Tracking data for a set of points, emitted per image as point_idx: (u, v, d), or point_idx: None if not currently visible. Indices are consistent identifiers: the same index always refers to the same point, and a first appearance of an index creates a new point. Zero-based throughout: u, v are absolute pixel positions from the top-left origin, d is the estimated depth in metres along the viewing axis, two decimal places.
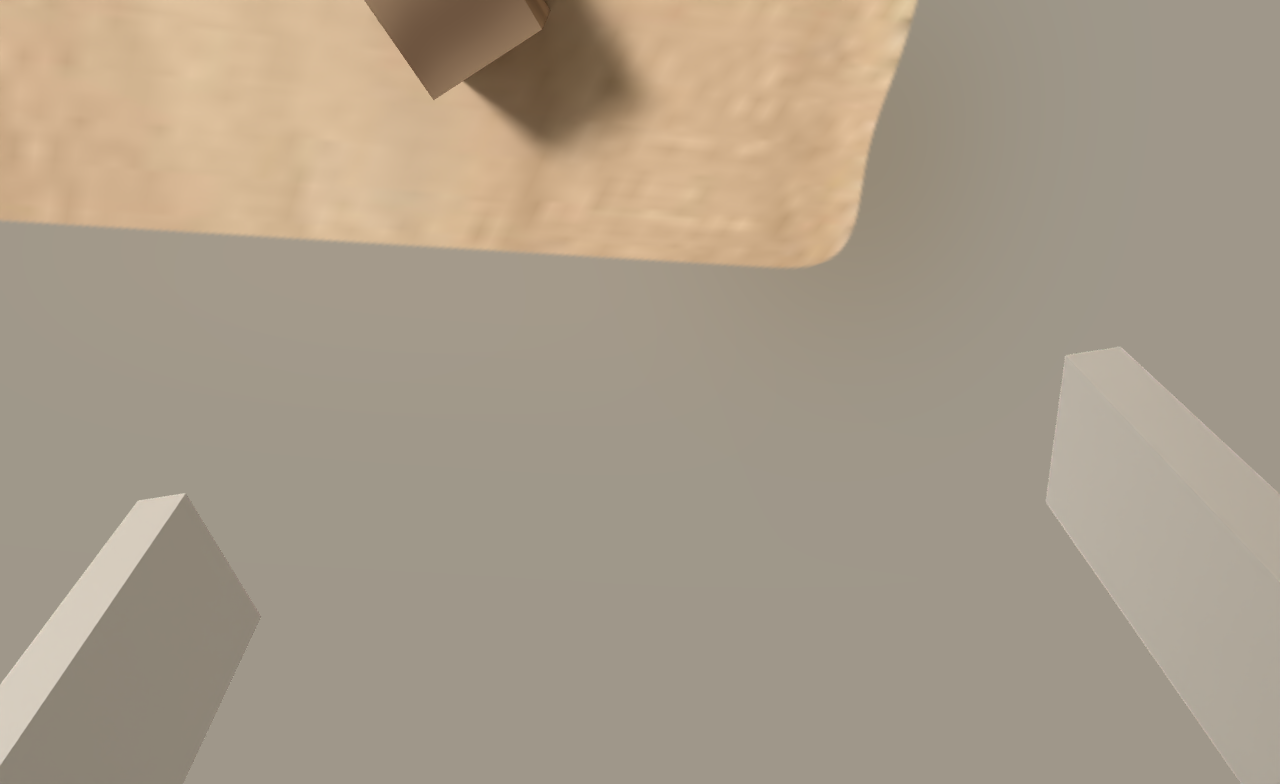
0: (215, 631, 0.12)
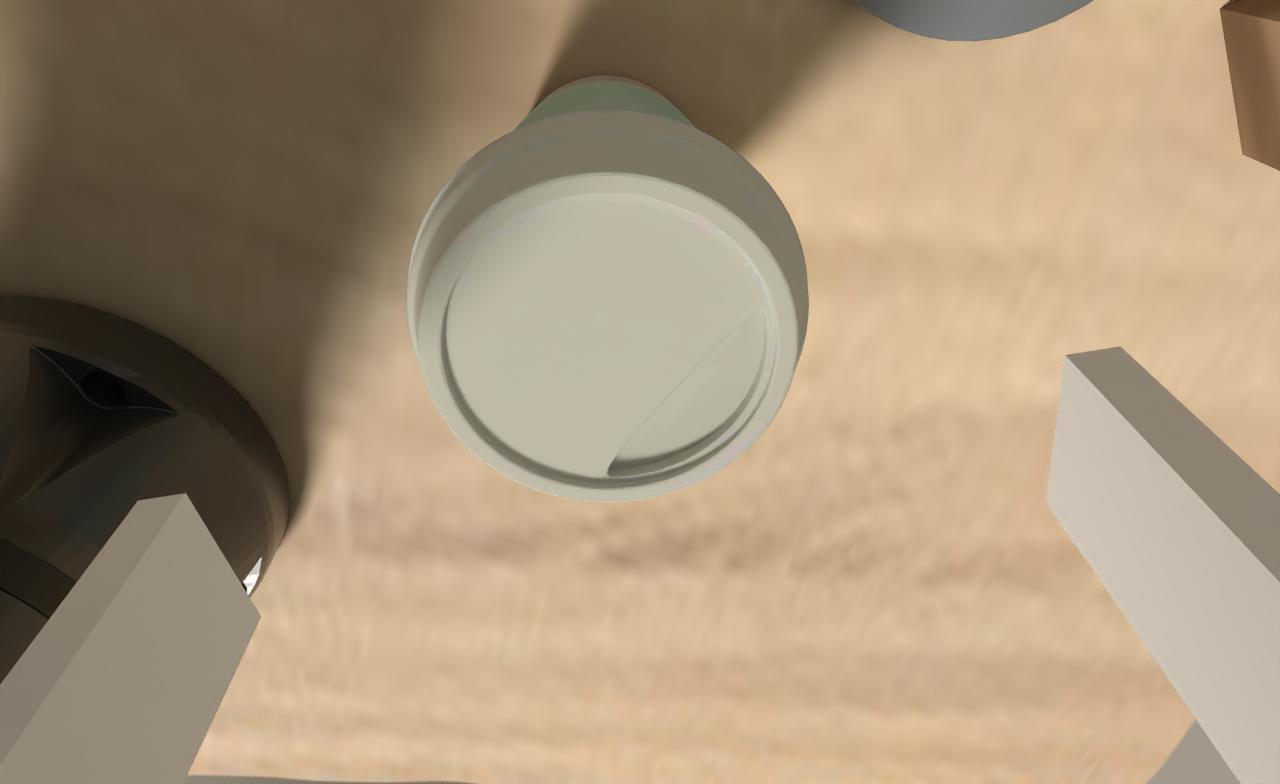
0: (215, 631, 0.12)
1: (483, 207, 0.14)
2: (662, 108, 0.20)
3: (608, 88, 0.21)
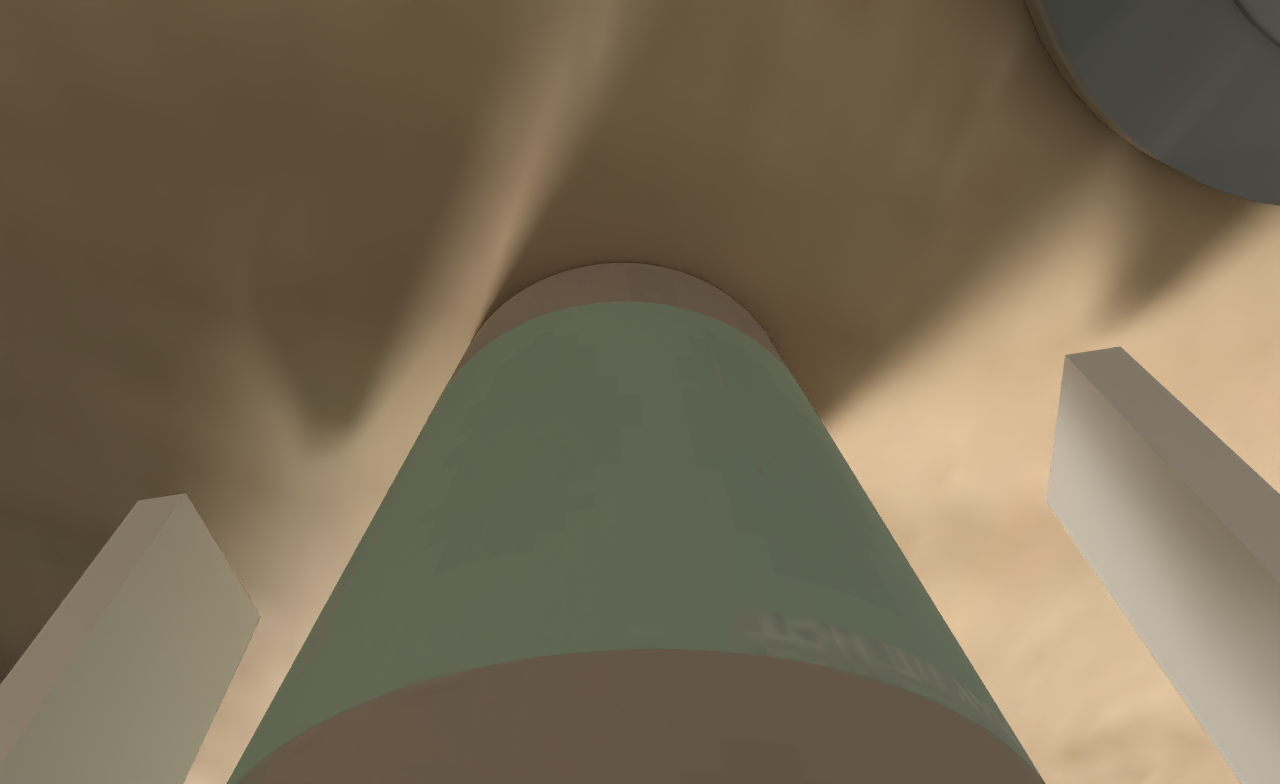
0: (215, 631, 0.12)
1: None
2: (768, 458, 0.08)
3: (631, 361, 0.09)
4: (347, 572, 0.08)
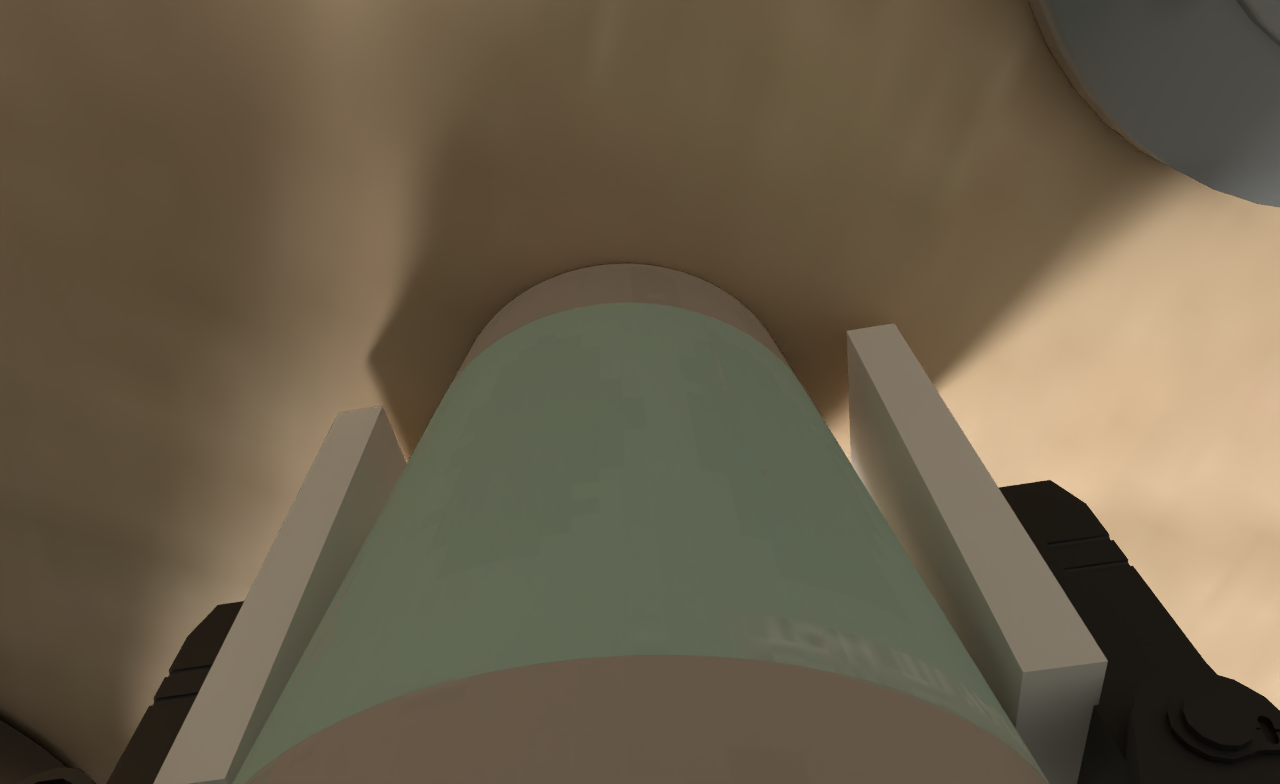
0: None
1: None
2: (772, 461, 0.08)
3: (635, 362, 0.09)
4: (350, 575, 0.08)
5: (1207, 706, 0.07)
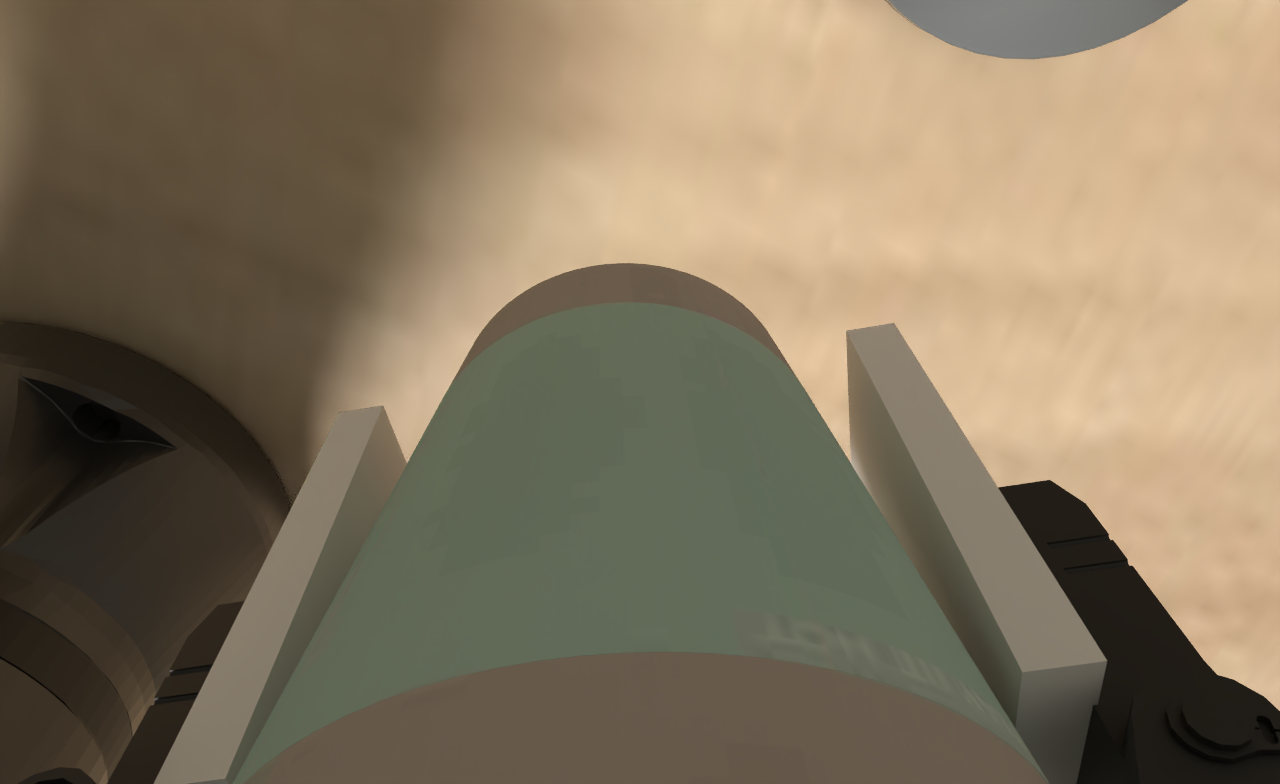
0: None
1: None
2: (772, 460, 0.08)
3: (635, 362, 0.09)
4: (351, 574, 0.08)
5: (1206, 706, 0.07)
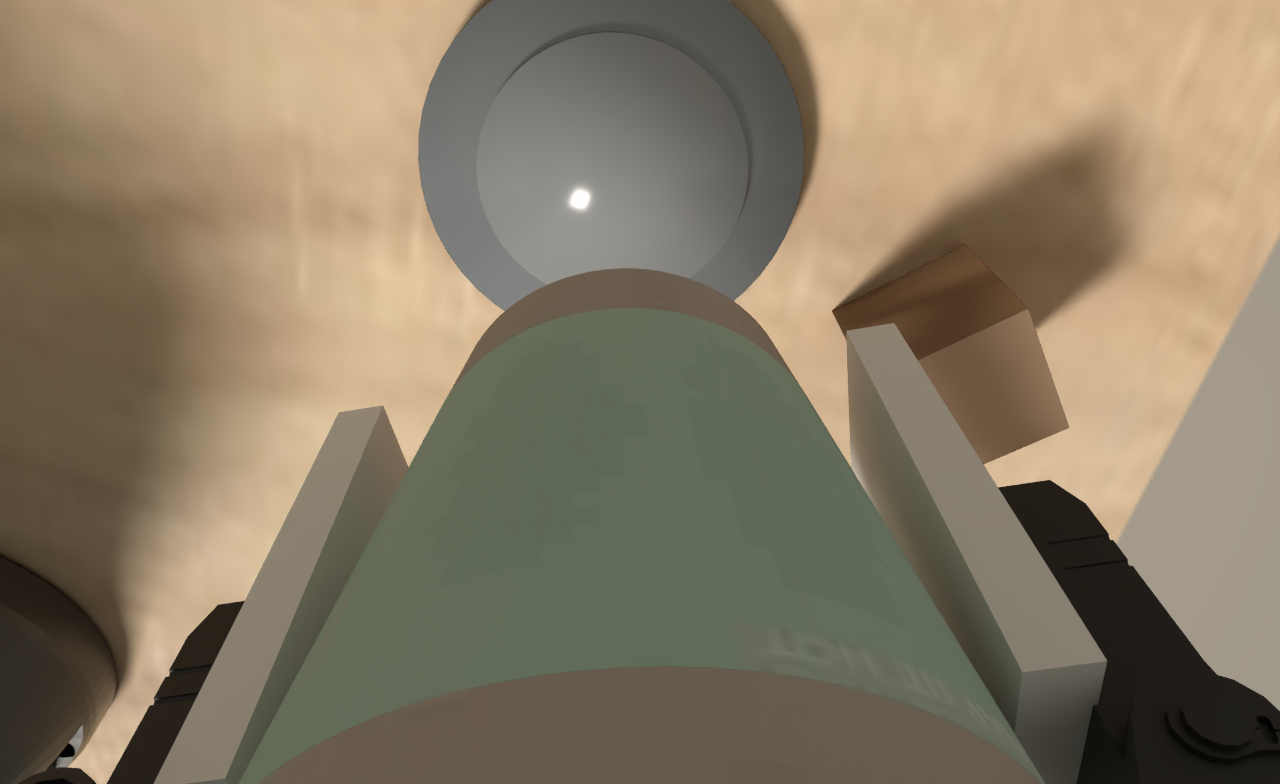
0: None
1: None
2: (774, 468, 0.08)
3: (636, 369, 0.09)
4: (351, 583, 0.08)
5: (1206, 706, 0.07)
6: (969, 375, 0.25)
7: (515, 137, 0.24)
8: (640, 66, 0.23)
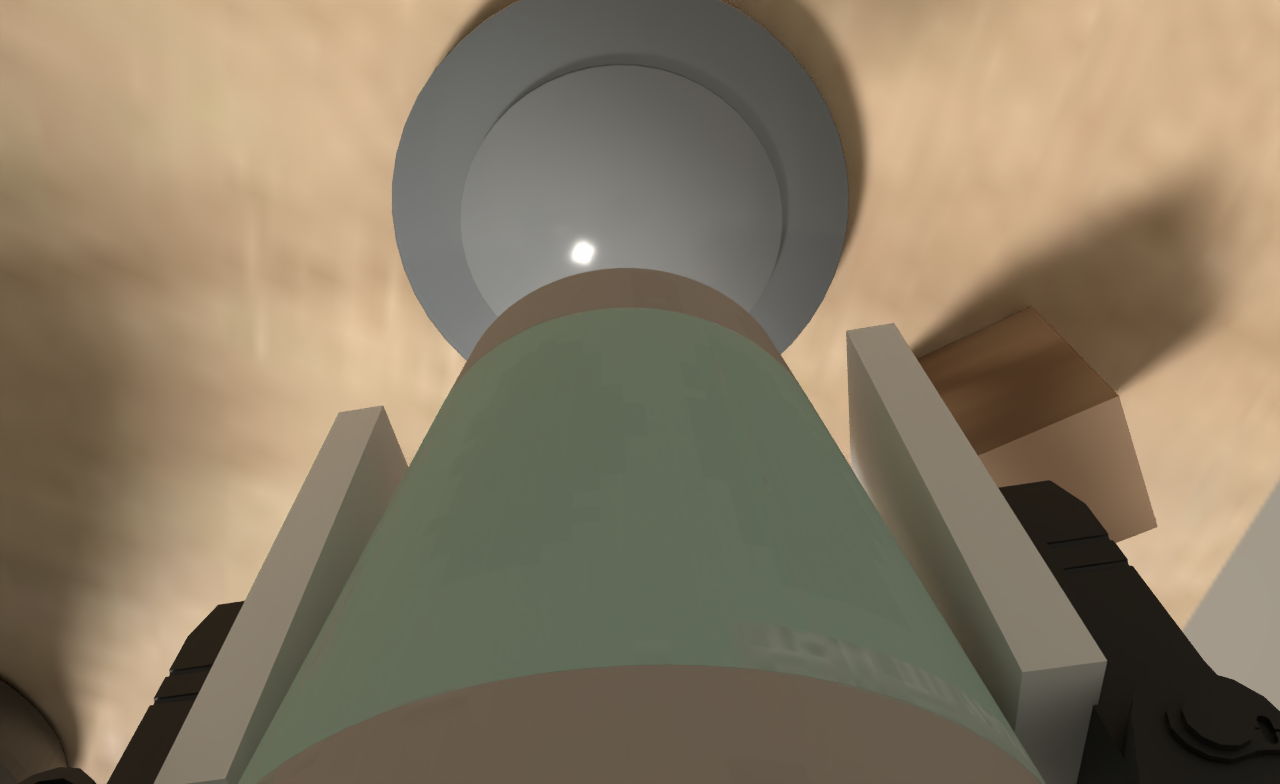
0: None
1: None
2: (773, 467, 0.08)
3: (636, 368, 0.09)
4: (351, 582, 0.08)
5: (1206, 706, 0.07)
6: (1043, 469, 0.21)
7: (506, 187, 0.21)
8: (656, 105, 0.20)
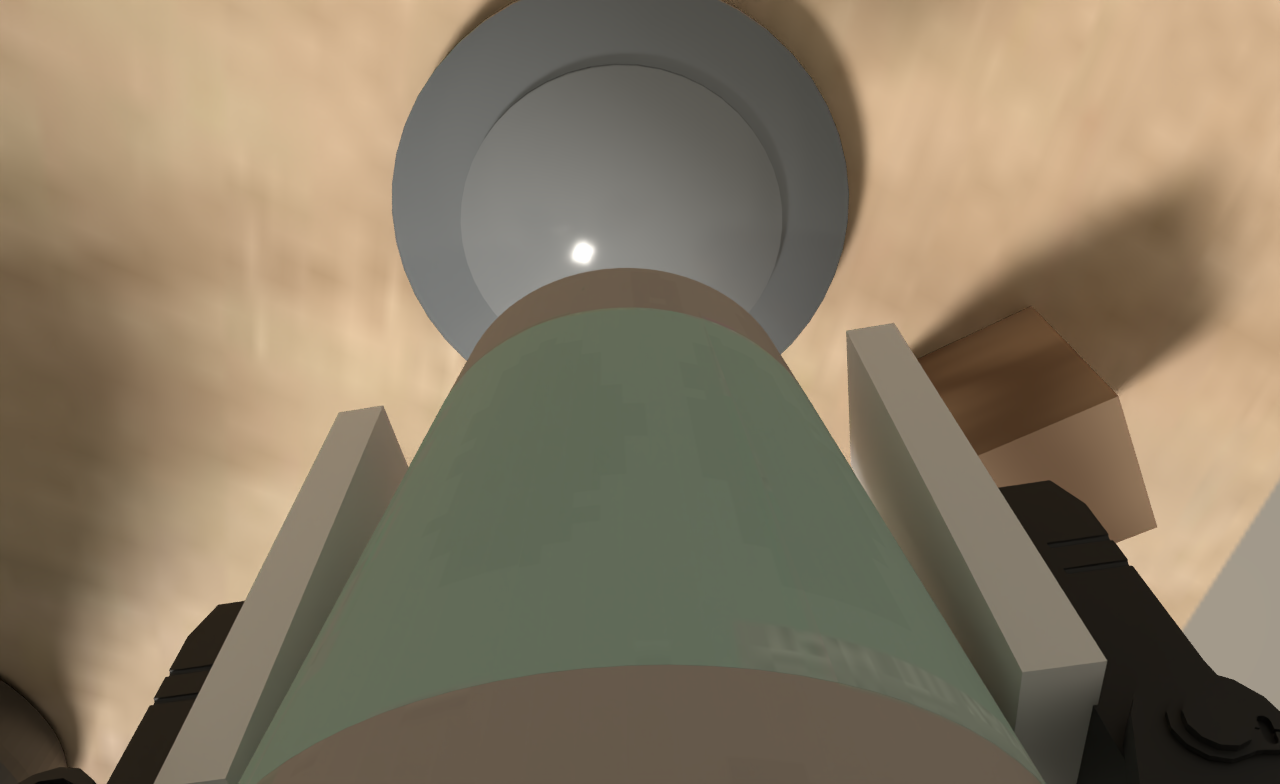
0: None
1: None
2: (773, 467, 0.08)
3: (636, 368, 0.09)
4: (351, 582, 0.08)
5: (1206, 706, 0.07)
6: (1043, 469, 0.21)
7: (506, 187, 0.21)
8: (656, 105, 0.20)
